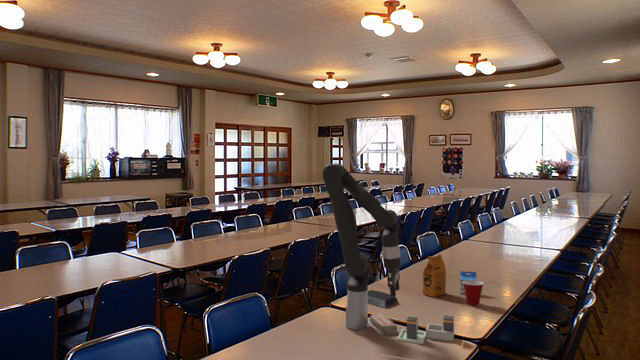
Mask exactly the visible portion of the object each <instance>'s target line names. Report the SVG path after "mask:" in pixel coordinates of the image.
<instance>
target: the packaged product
mask: <svg viewBox="0 0 640 360" xmlns="http://www.w3.org/2000/svg"><path fill="white" fill-rule="evenodd" d="M368 326H370V327H371V328H372V329H374V331H375V332H377V334H378V335H379V336H386V335H394V334H400V332H401V330H400V329H399V328H398V327H397V324H396V323H394V321H393V320H391V319H390V318H389V317H387V316H386V315H385V314H384V313H383V312H377V313H374V314H371V315H370V316H369V319H368Z"/></svg>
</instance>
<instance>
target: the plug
mask: <svg viewBox="0 0 640 360" xmlns="http://www.w3.org/2000/svg"><path fill="white" fill-rule="evenodd" d="M418 321H419V318H418V317H414V316H408V317H407V318H406V330H407V339H415V340H416V339H417V337H418V331H419V330H418V329H419V328H418V325H419V323H418Z"/></svg>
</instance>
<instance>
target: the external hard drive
mask: <svg viewBox="0 0 640 360" xmlns="http://www.w3.org/2000/svg"><path fill="white" fill-rule="evenodd" d="M368 303H369V304H368V305H371V304H372V306H375V305H376V306H375V307H378V306H380V307H379V308H382V307H383V308H384V309H386V308H389V307H391V306H394V305H397V304H399V300H398V298H397V297H396V296H391V295H390V293H387V292H382V291H379V290H374V289H369V290H368ZM396 303H397V304H396ZM388 306H389V307H388ZM383 308H382V309H383Z"/></svg>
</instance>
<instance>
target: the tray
mask: <svg viewBox="0 0 640 360" xmlns="http://www.w3.org/2000/svg"><path fill="white" fill-rule="evenodd" d="M400 331H401V332H400V333H398V336H397V338H396V341H398V342H399V341H400V342H406V343H413V344H421V345H424V343H425V339H426V331H422V330H421V331H419V330H418V337H417V339H416V340H415V339H407V328H402V329H401V330H400Z"/></svg>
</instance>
